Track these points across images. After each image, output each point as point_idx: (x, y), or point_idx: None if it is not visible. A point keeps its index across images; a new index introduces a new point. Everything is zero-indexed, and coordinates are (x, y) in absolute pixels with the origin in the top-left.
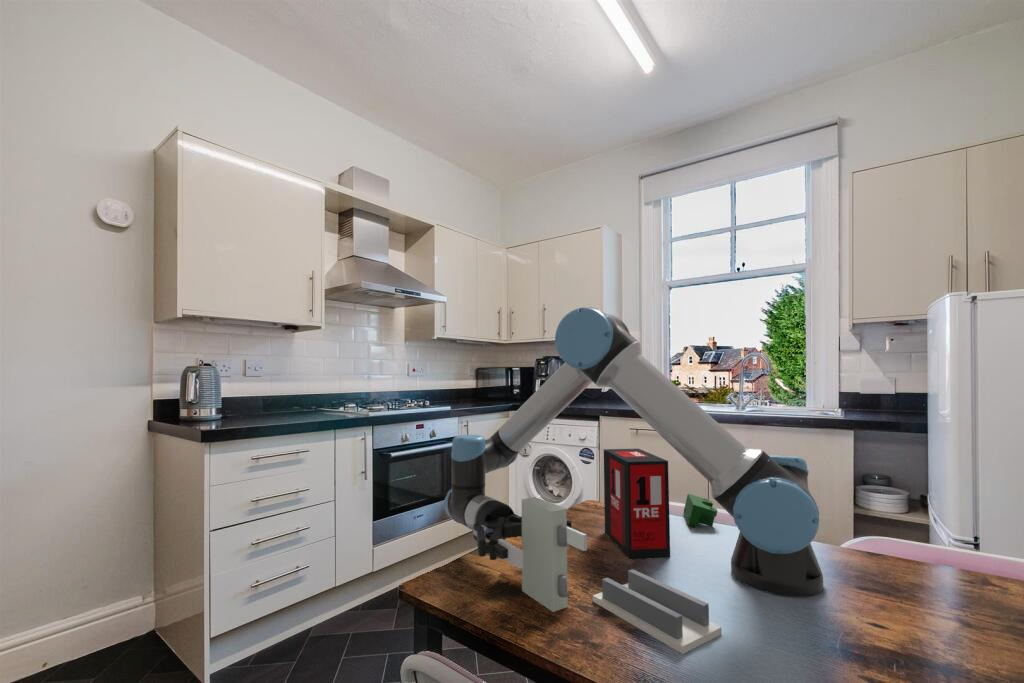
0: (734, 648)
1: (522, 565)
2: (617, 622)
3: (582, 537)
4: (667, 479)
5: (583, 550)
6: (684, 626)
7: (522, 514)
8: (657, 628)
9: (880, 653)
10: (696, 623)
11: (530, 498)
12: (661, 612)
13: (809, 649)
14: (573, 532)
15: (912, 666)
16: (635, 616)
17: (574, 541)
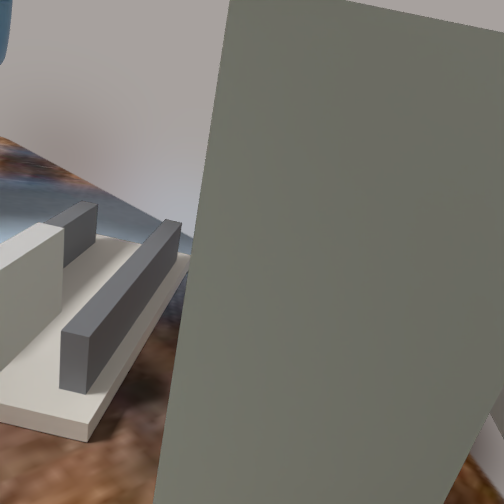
0: (114, 233)
1: (498, 399)
2: (168, 352)
3: (60, 245)
4: None
5: (61, 309)
6: (117, 258)
7: (496, 359)
8: (163, 280)
9: (17, 167)
10: (90, 248)
11: (412, 21)
12: (171, 240)
13: (53, 194)
14: (3, 277)
15: (34, 160)
16: (143, 312)
17: (11, 328)
